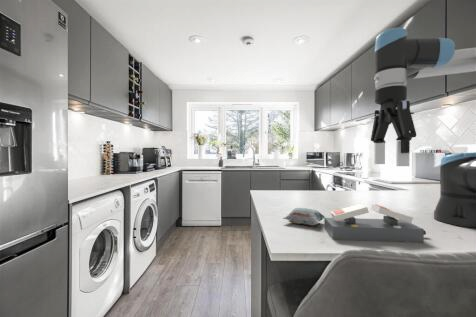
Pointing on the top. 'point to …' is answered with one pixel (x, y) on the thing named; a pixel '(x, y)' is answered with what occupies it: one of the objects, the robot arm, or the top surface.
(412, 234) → the rocker switch box
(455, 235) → the top surface
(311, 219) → the packaged food
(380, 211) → the rocker white
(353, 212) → the white switch paddle
